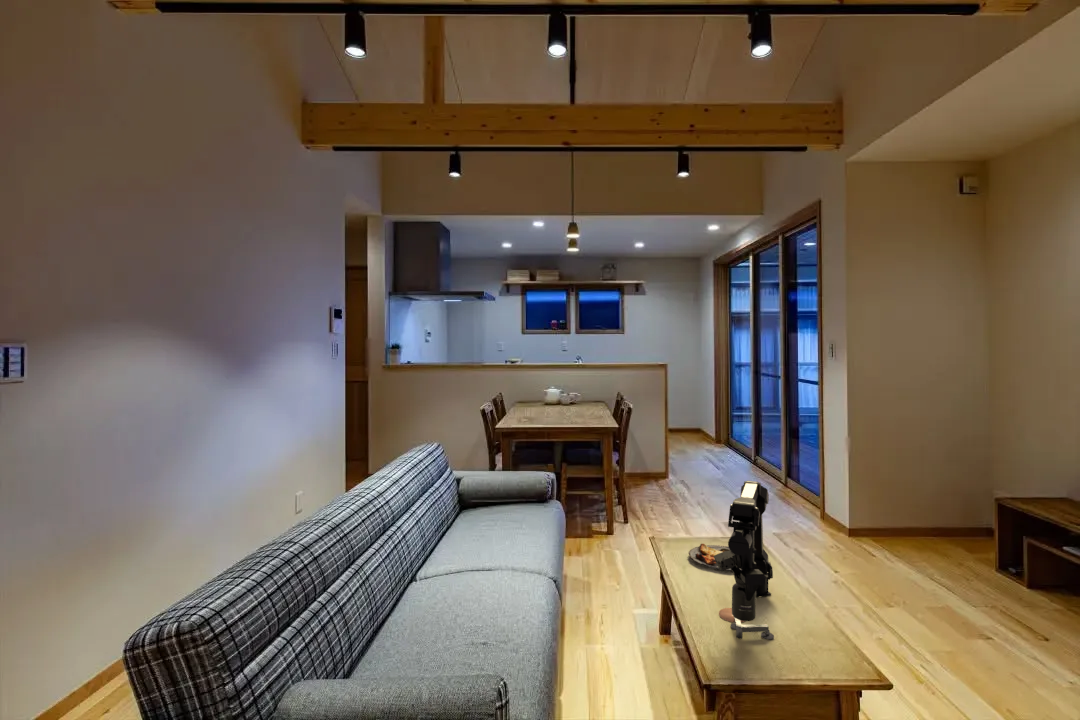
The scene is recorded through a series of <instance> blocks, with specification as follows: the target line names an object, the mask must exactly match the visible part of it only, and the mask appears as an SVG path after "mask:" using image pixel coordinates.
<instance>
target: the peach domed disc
mask: <svg viewBox="0 0 1080 720" xmlns="http://www.w3.org/2000/svg"><path fill="white" fill-rule="evenodd" d="M718 616H719V617H720V618H721V619H722V620H724V621H726V622H729V623H735V622H734V616H733V615H732V607H725V608H724V607H723V608H721V609H720V610H719V611H718ZM740 621H741V620H740ZM745 622H746V621H741V624H742V623H745Z"/></svg>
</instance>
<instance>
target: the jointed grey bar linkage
mask: <svg viewBox="0 0 1080 720" xmlns="http://www.w3.org/2000/svg"><path fill="white" fill-rule="evenodd" d="M734 622H735V623H734ZM734 622H730V628H731V629H732V630H734V631H736V633H735V637H736V639H738V640H743V637H744V635H743V633H760V637H761V638H762V639H764V640H766V641H773V640H774V639H775V636H774V634H773V633H771V631H770V630H769V629H770V628H769V625H768V624H767V623H766V624H765V623H764V624H763V623H761V624H759V623H756V624H753V623H752V624H742V623H741V621H740V620H738V619H736V618H735V617H734Z"/></svg>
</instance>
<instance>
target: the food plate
mask: <svg viewBox="0 0 1080 720" xmlns="http://www.w3.org/2000/svg"><path fill="white" fill-rule="evenodd" d="M729 550H730V549H729V547H728V545H727V546H726V545H725V546H724V545H717V544H716V545H715V544H708V545H707V544H705V543H700V545H699V546H694V547H693V548H691V549H690V550H689V551H688V555H689V558H690V559H691V560H692V561H693V562H696V563H697V564H701V565H705V566H706V567H708V568H710V569H712V570H713V569H719V570H720V568H719V567H718V566H717V564H716V561H715V558H714V556H715V555H717V554H719V553H722V552H724V551H729ZM727 571H732V570H731V569H728V570H727Z"/></svg>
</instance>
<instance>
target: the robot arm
mask: <svg viewBox="0 0 1080 720" xmlns="http://www.w3.org/2000/svg"><path fill="white" fill-rule="evenodd" d="M769 499H770V498H769V491H768V489H767V488H766V487H765V486H763V485H762V484H761V482H759V481H754V480H745V481H744V482H743V484H742V485H741V486H740V496H739V497H738V498H735V499H734V500H733V501H732V503H731V504H730V507H729V512H728V513H729V514H728V522H727V527H728V528H733V532H732V534H731V535H730V537H729V539H728V542H727V547H729V549H730V550H729V551H724V552H722V553H719V554H717V555H715V556H714V558H715V561H716V564H717V566H718V567H719V568H720V569H719V570H720V571H721V572H725V571H729V570H728V569H731V570H730V571H732V573H733V577H734V580H735V583H736V575H738V574H741V578H739V579H740V580H741V581H742V583H744V588H745V595H746V600H747V601H750V600H751V599H752V597H753V595H754V593H755V592H756V598H758V597H759V598H760V597H761V598H762V597H766V596H771V595H772V593H771V592H770V591H769V581H770V580H771V579H773V578H774V570H773V565H772V564H771V561H770V560H769V555H768V553H767V551H766V550H765V549H764V536H763V535H764V530H763V529H764V527H763V514H764V513H765V512H766V509H767V505H768V504H769Z"/></svg>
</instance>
